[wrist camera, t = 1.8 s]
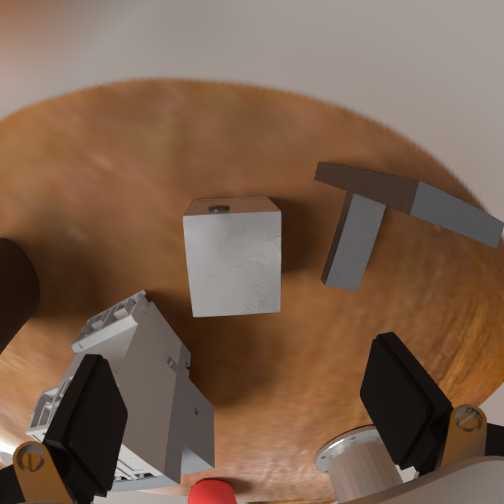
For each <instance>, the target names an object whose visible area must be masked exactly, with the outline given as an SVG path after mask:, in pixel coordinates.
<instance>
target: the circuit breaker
mask: <svg viewBox="0 0 504 504" xmlns="http://www.w3.org/2000/svg"><path fill="white" fill-rule="evenodd" d="M144 295H146V291H145V290H142V291H140V292H138V293H136V294H134V295H132V296H131V297H129V298H127V299H125V300H123V301H121V302H119V303H118V304H116V305H114V306H112V307H110V308H108V309H106V310H105V311H103V312H101V313H99V314H97V315H95V316H94V317H92V318H90V319H88V320H87V324H86V325H85V327H83V328H82V329H81V330H80V332H79V334H78V335H77V337H76V338H75V340H74V341H73V343H72V344H71V347H72V349H73V351H74V353H75V352H76V353H77V354H76V356H75V358H74V359H73V361H72V363H71V364H70V366H69V368H68V370H67V371H66V373H65V375H64V377H63V379H61V380H60V382H59V383H58V385H57V386H55V387H52V388H50V389H47V390H44V391H43V392H42V394H41V396H40V397H39V399H38V401H37V403H36V405H35V406H34V408H33V410H32V413H31V417H32V419H31V422H30V425H29V428H26V430H25V433H26V434H27V435H31V436H32V437H33V438H34V439H35V440H36V441H37V442H39V443H42V441H43V439H44V437H45V434H46V432H47V430H48V427H49V425H50V423H51V421H52V419H53V416H54V414H55V412H56V410H57V408H58V406H59V404H60V401H61V399H62V397H63V395H64V393H65V391H66V390H67V388H68V386H69V384H70V382H71V380H72V378H73V377H74V375H75V373H76V371H77V369H78V367H79V365H80V363H81V361H82V359H83V357H84V356H85V354H100V355H102V356H103V358H104V359H107V360H108V362H109V365H110V368H111V370H112V373H113V376H114V378H115V381H116V384H117V386H118V389H119V391H120V393H121V396H122V398H123V401H124V403H125V405H126V408H127V411H128V419H127V423H126V428H125V432H124V436H123V440H122V444H121V449H120V453H119V457H118V462H117V467H116V471H115V476H114V481H113V486H112V489H111V491H107V492H121V491H134V490H144V489H153V488H160V487H167V486H174V485H179V484H180V478H181V475H186V474H191V473H196V472H200V471H205V470H209V469H213V468H215V464H214V462H215V456H214V407H213V405H212V404H211V403H210V402H209V401H208V400H207V399H206V398H205V396H204V395H203V394H202V393H201V392H200V391H199V390H198V389H197V387H196V386H195V385H194V384H193V383H192V382H191V381H190V379H189V370H187V369H186V367H189V366H190V361H191V353H190V352H189V350H188V349H187V348H186V347H185V345H184V344H183V343H182V341H181V340H180V339H179V337H178V336H177V335H176V333H175V332H174V331H173V329H172V328H171V327H170V325H169V324H168V323H167V321H166V320H165V318H164V317H163V316H162V314H161V313H160V311H159V310H158V309H157V307H156V306H155V304H154V303H153V302H152V301H151V302H148V301H147V299H146V298H145V296H144ZM135 301H136V302H135ZM123 305H125V306H124V308H123ZM84 335H85V336H86V337H84ZM83 337H84V338H83ZM45 403H47V404H48V405H45ZM44 405H45V406H44ZM43 406H44V407H43ZM117 476H120V477H121V480H116V481H115V479H116V477H117Z"/></svg>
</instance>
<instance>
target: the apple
mask: <svg viewBox="0 0 504 504" xmlns="http://www.w3.org/2000/svg"><path fill="white" fill-rule="evenodd" d="M188 504H237V502H236V499H235V496H234V493H233V490H232V488H231V485H230V484H228V483H226V482H224V481H219V480H202V481H200V482H199V483H197V484H195V485H193V486H192V487H191V490H190V494H189V497H188Z"/></svg>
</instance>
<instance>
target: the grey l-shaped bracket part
mask: <svg viewBox="0 0 504 504" xmlns="http://www.w3.org/2000/svg"><path fill="white" fill-rule="evenodd" d="M314 179H315V180H318V181H321V182H324V183H326V184H329V185H332V186H335V187H338V188H341V189H344V190H346V191H347V195H346V198H345V202H344V205H343V209H342V212H341V216H340V219H339V223H338V226H337V229H336V232H335V236H334V239H333V242H332V245H331V249H330V252H329V255H328V258H327V261H326V264H325V267H324V270H323V273H322V276H321V281H322V282H323V283H324V285H326V286H331V287H337V288H343V289H349V290H355V291H357V290H358V288H359V285H360V282H361V280H362V277H363V274H364V272H365V269H366V266H367V263H368V260H369V257H370V254H371V252H372V249H373V246H374V243H375V240H376V236H377V233H378V230H379V227H380V224H381V221H382V217H383V214H384V211H385V207H386V206H389V207H391V208H394V209H396V210H399V211H401V212H403V213H406V214H408V215H411V216H414V217H417V218H419V219H422V220H425V221H428V222H430V223H433V224H436V225H438V226H441V227H444V228H446V229H449V230H452V231H454V232H457V233H459V234H462V235H464V236H467V237H469V238H472V239H474V240H477V241H479V242H481V243H484V244H486V245H488V246H491V247H493V248H495V249H497V246H498V243H499V240H500V237H501V234H502V230H503V227H504V223H503V222H502V221H500V220H498V219H496V218H495V217H493V216H491V215H489V214H487V213H485V212H483V211H482V210H480V209H478V208H476V207H474V206H472V205H470V204H468V203H466V202H464V201H462V200H460V199H458V198H456V197H454V196H452V195H450V194H448V193H446V192H443V191H441V190H439V189H437V188H435V187H433V186H430V185H428V184H426V183H424V182H421V181H419V180H414V179H410V178H405V177H400V176H396V175H391V174H386V173H381V172H375V171H370V170H364V169H359V168H353V167H347V166H341V165H335V164H328V163H321V162H318V166H317V170H316V174H315V178H314Z"/></svg>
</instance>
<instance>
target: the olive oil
mask: <svg viewBox="0 0 504 504" xmlns="http://www.w3.org/2000/svg"><path fill="white" fill-rule="evenodd" d="M38 301H39V287H38V282H37V278H36V275H35V272H34V270H33V268H32V266H31V264H30V262H29V260H28V259H27V257H26V256H25V254H24V253H23V252H22V251H21V250H20V249H19V248H18V247H17V246H16V245H15V244H13V243H12V242H10V241H8V240H5V239H0V354H1V353H2V352H3V350H4V349H5V348H6V346H7V345H8V344H9V342H10V341H11V340H12V338H13V337H14V336H15V335H16V334H17V332H18V331H19V330H20V329H21V327H22V326H23V325H24V324H25V323H26V322H27V320H28V319H29V318H30V317H31V316H32V314H33V313H34V312H35V310H36V308H37V305H38Z"/></svg>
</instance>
